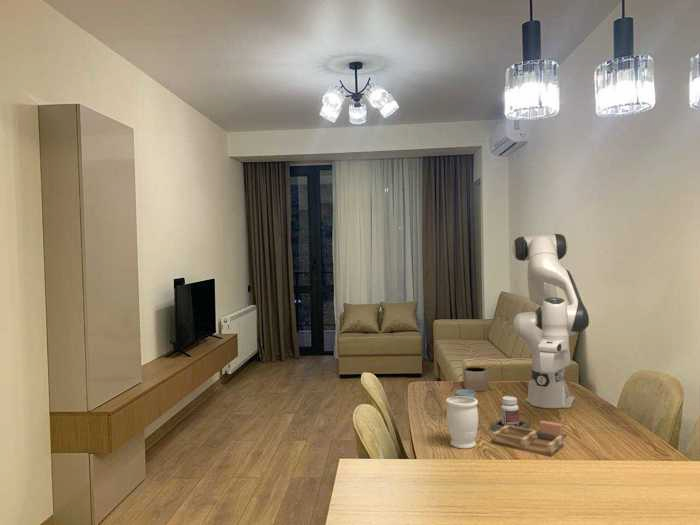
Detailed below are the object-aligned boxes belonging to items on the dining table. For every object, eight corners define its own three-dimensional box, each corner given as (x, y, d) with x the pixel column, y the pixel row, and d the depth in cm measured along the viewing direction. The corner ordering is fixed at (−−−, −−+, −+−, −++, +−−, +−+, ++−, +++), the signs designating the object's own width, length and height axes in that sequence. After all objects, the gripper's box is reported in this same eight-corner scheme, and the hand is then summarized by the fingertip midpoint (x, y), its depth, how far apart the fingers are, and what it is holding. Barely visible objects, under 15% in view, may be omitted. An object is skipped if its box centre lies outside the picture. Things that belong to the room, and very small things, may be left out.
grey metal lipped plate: (540, 431, 186) (540, 423, 186) (566, 436, 180) (566, 428, 180) (529, 439, 178) (529, 431, 178) (556, 444, 172) (555, 436, 172)
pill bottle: (523, 429, 188) (522, 398, 188) (511, 433, 185) (510, 401, 185) (509, 425, 194) (508, 394, 194) (498, 428, 190) (497, 397, 190)
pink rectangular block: (542, 430, 185) (542, 420, 185) (562, 434, 180) (562, 424, 180) (540, 432, 183) (539, 422, 183) (560, 436, 178) (560, 425, 178)
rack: (505, 434, 184) (505, 424, 184) (563, 446, 171) (563, 435, 171) (491, 443, 175) (491, 432, 175) (551, 456, 162) (551, 445, 162)
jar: (444, 440, 180) (442, 396, 180) (473, 438, 181) (472, 395, 181) (452, 451, 169) (451, 405, 169) (483, 449, 170) (482, 403, 170)
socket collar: (503, 422, 197) (503, 417, 197) (530, 428, 190) (530, 422, 190) (490, 430, 189) (490, 424, 189) (518, 435, 182) (518, 430, 182)
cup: (471, 414, 208) (470, 388, 208) (479, 420, 200) (478, 393, 200) (453, 416, 206) (452, 390, 206) (460, 422, 199) (460, 395, 199)
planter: (484, 393, 240) (483, 372, 240) (461, 390, 246) (460, 370, 246) (490, 387, 249) (490, 367, 249) (468, 385, 255) (467, 366, 255)
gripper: (556, 339, 196) (557, 375, 196) (535, 346, 181) (537, 386, 181) (574, 340, 192) (575, 377, 192) (554, 348, 177) (555, 389, 177)
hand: (556, 382), depth 186 cm, fingers open, 6 cm apart
